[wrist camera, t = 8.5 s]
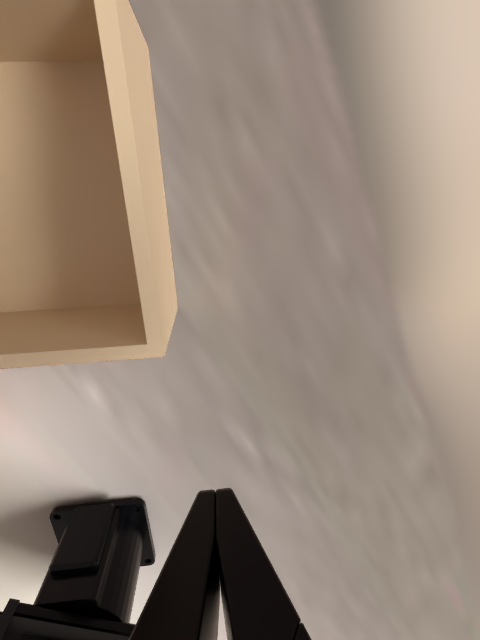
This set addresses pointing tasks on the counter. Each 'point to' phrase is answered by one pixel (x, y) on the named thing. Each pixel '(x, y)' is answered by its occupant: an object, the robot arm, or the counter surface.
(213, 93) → the counter surface
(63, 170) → the wooden box
